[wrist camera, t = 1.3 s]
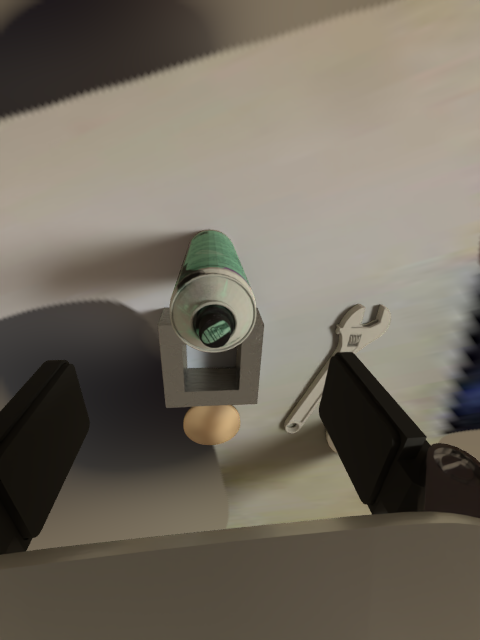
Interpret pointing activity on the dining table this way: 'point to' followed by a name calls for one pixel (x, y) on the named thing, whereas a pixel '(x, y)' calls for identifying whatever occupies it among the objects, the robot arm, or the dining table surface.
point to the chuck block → (209, 371)
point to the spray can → (212, 296)
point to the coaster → (211, 424)
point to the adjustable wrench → (350, 340)
